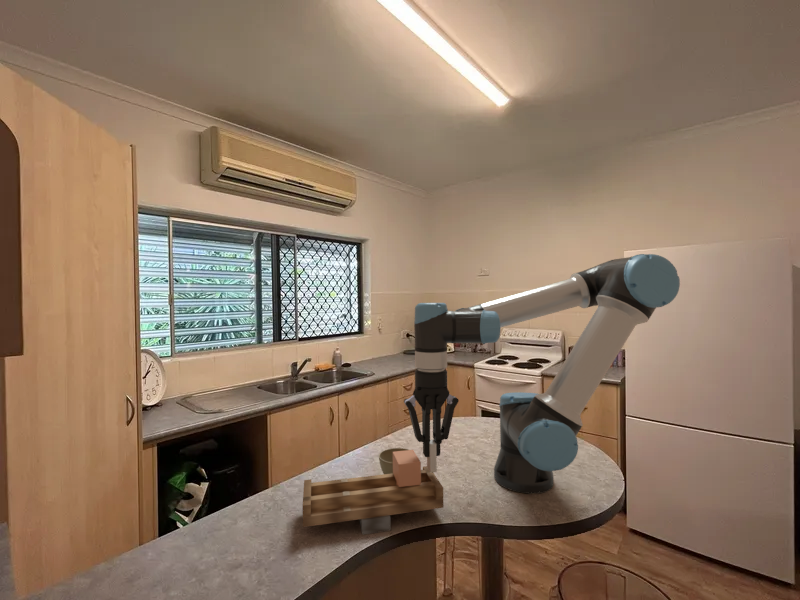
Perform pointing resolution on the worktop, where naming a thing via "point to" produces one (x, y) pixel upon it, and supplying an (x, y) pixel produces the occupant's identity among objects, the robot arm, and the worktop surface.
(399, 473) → the block
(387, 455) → the flower pot
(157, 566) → the worktop surface
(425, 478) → the wooden crate
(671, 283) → the robot arm
